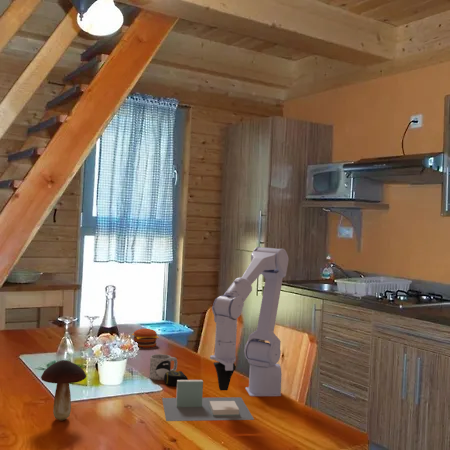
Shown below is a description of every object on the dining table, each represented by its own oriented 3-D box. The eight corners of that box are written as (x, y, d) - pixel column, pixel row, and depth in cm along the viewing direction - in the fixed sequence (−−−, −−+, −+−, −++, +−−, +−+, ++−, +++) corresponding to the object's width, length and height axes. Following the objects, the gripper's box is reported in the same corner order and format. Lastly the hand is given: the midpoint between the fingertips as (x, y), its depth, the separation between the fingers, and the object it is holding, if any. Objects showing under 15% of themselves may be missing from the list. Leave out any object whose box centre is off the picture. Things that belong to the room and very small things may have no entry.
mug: (157, 381, 181) (158, 360, 181) (145, 376, 186) (146, 355, 186) (182, 376, 188) (183, 356, 188) (170, 371, 193) (171, 352, 193)
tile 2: (201, 404, 160) (202, 379, 160) (201, 406, 158) (203, 381, 158) (176, 405, 159) (177, 379, 158) (176, 407, 157) (177, 381, 157)
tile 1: (234, 400, 160) (239, 409, 153) (234, 406, 160) (238, 415, 153) (209, 401, 158) (213, 409, 151) (209, 406, 158) (212, 415, 152)
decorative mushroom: (47, 411, 151) (50, 354, 150) (89, 413, 150) (91, 356, 150) (32, 426, 140) (34, 365, 139) (77, 429, 139) (79, 367, 139)
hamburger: (129, 343, 231) (130, 327, 230) (152, 342, 235) (153, 326, 235) (136, 349, 222) (137, 331, 222) (160, 347, 226) (161, 330, 226)
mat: (240, 398, 168) (241, 397, 168) (254, 421, 150) (254, 419, 150) (161, 399, 164) (162, 397, 164) (166, 422, 146) (166, 420, 146)
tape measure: (188, 387, 177) (188, 375, 176) (166, 388, 174) (166, 376, 174) (182, 381, 183) (183, 369, 183) (161, 382, 181) (162, 370, 181)
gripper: (207, 334, 164) (205, 381, 164) (215, 346, 149) (212, 398, 150) (232, 334, 165) (229, 381, 165) (241, 346, 150) (239, 398, 151)
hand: (223, 389), depth 157 cm, fingers closed
